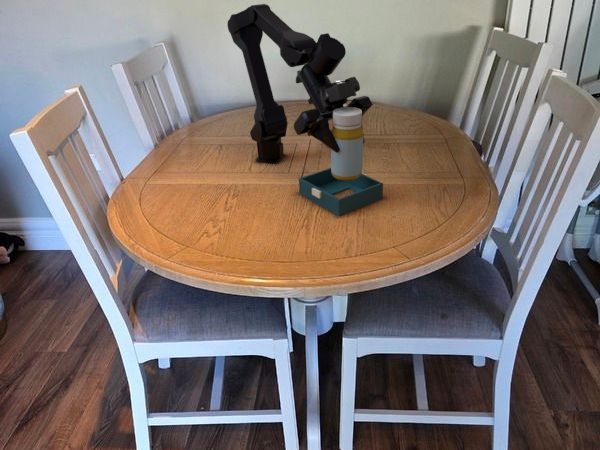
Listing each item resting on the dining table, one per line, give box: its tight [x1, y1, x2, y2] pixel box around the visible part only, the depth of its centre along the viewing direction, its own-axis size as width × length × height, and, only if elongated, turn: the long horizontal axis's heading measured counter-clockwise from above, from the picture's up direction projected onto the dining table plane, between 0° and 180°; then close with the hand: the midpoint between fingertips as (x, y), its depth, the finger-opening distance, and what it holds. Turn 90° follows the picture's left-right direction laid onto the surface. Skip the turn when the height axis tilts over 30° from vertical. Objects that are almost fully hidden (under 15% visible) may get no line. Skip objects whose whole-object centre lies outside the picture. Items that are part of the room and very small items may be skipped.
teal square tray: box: [298, 167, 384, 217], centre depth 115 cm, size 15×14×4 cm
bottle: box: [330, 107, 364, 181], centre depth 107 cm, size 7×7×15 cm
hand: (350, 147), depth 106 cm, fingers closed on bottle, 7 cm apart
